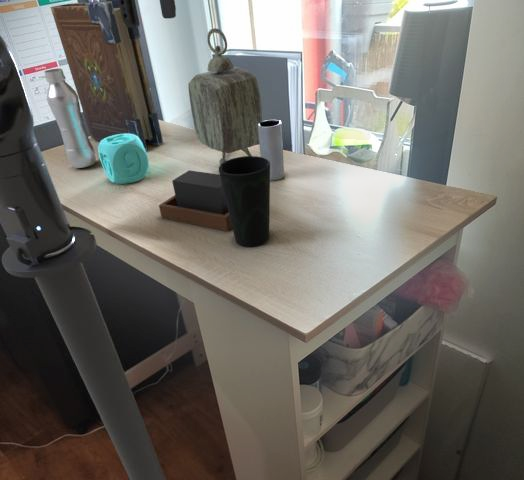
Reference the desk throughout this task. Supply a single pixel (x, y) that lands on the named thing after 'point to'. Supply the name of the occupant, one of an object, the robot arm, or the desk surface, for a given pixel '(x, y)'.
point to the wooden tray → (194, 216)
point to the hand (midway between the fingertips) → (152, 22)
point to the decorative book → (107, 70)
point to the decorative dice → (123, 158)
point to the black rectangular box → (200, 192)
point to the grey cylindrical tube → (272, 146)
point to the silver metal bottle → (69, 120)
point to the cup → (247, 198)
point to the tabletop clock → (225, 104)
